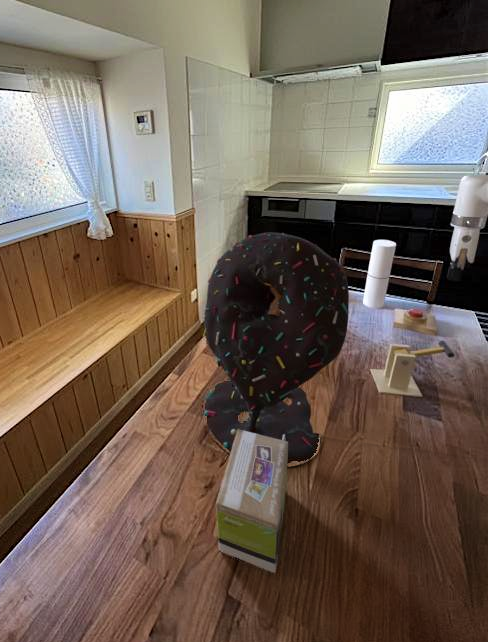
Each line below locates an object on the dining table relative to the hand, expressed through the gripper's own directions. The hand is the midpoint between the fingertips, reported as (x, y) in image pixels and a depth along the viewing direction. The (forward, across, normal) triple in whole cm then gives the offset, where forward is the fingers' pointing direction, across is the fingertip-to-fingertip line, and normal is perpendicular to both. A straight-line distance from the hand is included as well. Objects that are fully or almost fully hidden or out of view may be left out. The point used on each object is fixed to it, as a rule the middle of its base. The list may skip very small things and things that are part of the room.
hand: (453, 279), depth 102 cm
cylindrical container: (+20, +13, +20) cm, 31 cm away
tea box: (+20, -82, +32) cm, 90 cm away
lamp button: (+17, +4, +7) cm, 18 cm away
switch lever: (+10, -30, +7) cm, 32 cm away
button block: (+20, +4, +7) cm, 22 cm away
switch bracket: (+20, -31, +12) cm, 39 cm away
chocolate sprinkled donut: (+19, -57, +40) cm, 72 cm away
